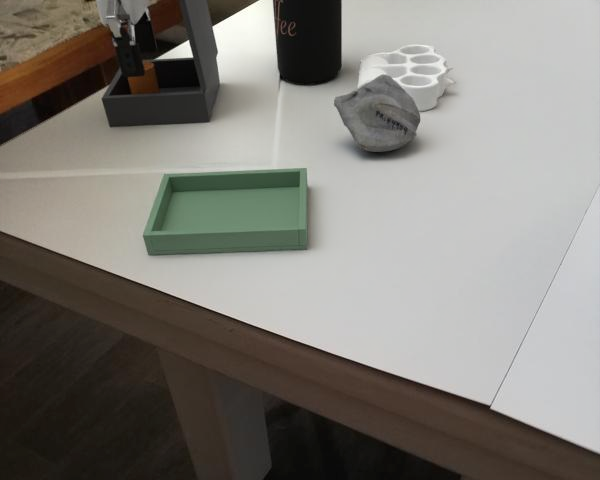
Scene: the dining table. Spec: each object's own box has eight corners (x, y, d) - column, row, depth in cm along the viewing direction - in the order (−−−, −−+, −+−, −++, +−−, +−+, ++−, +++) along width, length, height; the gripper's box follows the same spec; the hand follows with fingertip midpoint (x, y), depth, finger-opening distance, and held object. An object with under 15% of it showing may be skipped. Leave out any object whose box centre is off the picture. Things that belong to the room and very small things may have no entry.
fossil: (337, 163, 77) (337, 99, 71) (332, 133, 83) (331, 71, 77) (422, 156, 77) (429, 92, 71) (410, 127, 83) (415, 65, 77)
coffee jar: (275, 65, 102) (265, -65, 88) (336, 59, 102) (336, -72, 89) (281, 89, 95) (271, -49, 81) (346, 82, 95) (347, -56, 82)
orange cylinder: (132, 111, 90) (122, 72, 86) (137, 100, 92) (128, 61, 88) (159, 109, 89) (150, 70, 85) (164, 98, 92) (155, 60, 88)
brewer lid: (167, -46, 71) (210, -54, 70) (185, -72, 81) (223, -79, 80) (201, 90, 82) (238, 84, 82) (213, 53, 92) (246, 48, 91)
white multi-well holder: (361, 67, 99) (449, 66, 97) (355, 112, 87) (456, 111, 85) (361, 45, 97) (452, 43, 95) (356, 88, 85) (459, 86, 83)
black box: (111, 133, 87) (101, 98, 83) (131, 93, 97) (123, 60, 93) (210, 128, 86) (204, 93, 82) (220, 89, 96) (216, 55, 92)
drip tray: (148, 255, 65) (142, 235, 63) (168, 192, 74) (163, 173, 72) (306, 249, 64) (305, 229, 62) (307, 186, 73) (306, 167, 71)
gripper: (92, -96, 80) (128, 44, 93) (55, -68, 68) (102, 88, 81) (146, -100, 79) (175, 41, 92) (118, -73, 68) (155, 84, 81)
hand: (141, 63), depth 87 cm, fingers open, 9 cm apart
